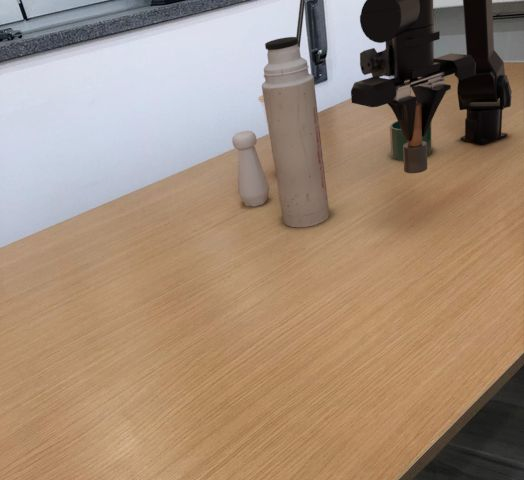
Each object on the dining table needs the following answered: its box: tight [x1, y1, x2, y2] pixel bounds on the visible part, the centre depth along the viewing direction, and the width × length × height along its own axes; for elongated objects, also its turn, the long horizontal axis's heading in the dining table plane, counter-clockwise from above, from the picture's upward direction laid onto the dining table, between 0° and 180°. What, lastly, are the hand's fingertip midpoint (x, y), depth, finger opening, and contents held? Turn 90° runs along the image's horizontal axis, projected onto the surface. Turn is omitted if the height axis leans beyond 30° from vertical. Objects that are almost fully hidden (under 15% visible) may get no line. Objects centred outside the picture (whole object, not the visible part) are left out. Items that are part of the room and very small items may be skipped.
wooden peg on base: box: [403, 102, 428, 174], centre depth 93 cm, size 4×4×10 cm
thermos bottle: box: [261, 36, 330, 228], centre depth 96 cm, size 8×8×28 cm
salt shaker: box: [231, 130, 270, 208], centre depth 110 cm, size 6×6×13 cm
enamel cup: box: [389, 120, 433, 162], centre depth 119 cm, size 8×8×6 cm
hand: (415, 138), depth 93 cm, fingers closed on wooden peg on base, 2 cm apart
